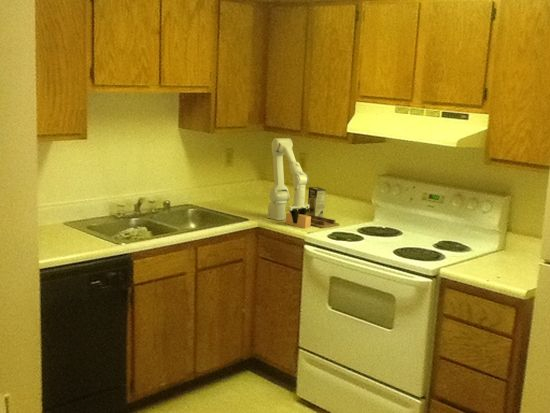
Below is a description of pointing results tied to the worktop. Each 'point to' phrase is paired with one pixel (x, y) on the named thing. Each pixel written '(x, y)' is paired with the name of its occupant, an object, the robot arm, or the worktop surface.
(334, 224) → the drying rack
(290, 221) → the orange rectangular block
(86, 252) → the worktop surface
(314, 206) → the coffee box
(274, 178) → the robot arm
